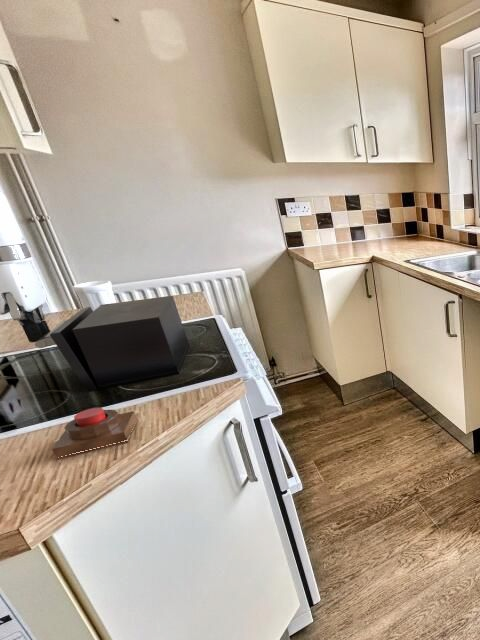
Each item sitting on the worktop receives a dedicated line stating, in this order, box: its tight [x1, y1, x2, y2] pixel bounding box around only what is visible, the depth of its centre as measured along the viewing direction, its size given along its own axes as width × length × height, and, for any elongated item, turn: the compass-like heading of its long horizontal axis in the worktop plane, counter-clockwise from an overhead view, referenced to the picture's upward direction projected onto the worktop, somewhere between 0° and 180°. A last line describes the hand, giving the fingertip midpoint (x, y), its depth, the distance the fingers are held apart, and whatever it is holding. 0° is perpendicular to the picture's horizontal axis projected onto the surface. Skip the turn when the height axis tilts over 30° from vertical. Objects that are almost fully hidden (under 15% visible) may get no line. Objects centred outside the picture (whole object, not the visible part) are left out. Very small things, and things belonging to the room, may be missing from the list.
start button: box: [73, 407, 107, 427], centre depth 72 cm, size 4×4×2 cm
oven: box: [73, 295, 190, 391], centre depth 99 cm, size 14×20×14 cm
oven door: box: [34, 307, 99, 393], centre depth 94 cm, size 5×20×14 cm, turn 30°
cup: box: [72, 280, 117, 311], centre depth 122 cm, size 8×8×14 cm
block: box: [51, 409, 139, 461], centre depth 73 cm, size 9×8×4 cm
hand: (41, 340), depth 90 cm, fingers closed
